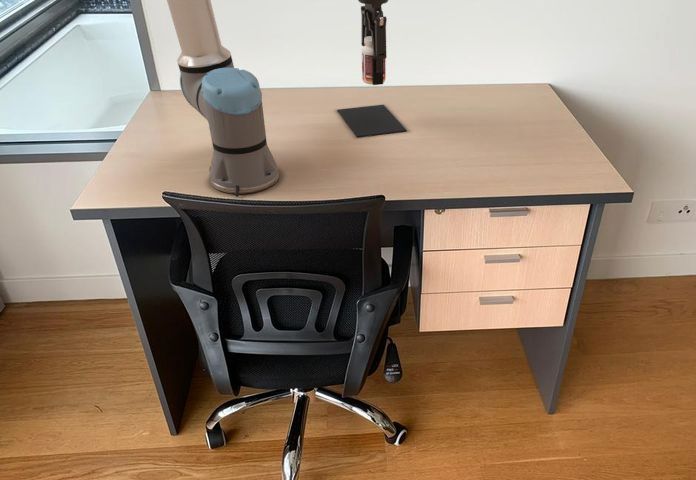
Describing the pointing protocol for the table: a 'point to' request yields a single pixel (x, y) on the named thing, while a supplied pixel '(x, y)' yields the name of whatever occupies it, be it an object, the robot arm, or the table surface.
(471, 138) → the table surface
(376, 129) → the mat
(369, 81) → the pill bottle
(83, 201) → the table surface
